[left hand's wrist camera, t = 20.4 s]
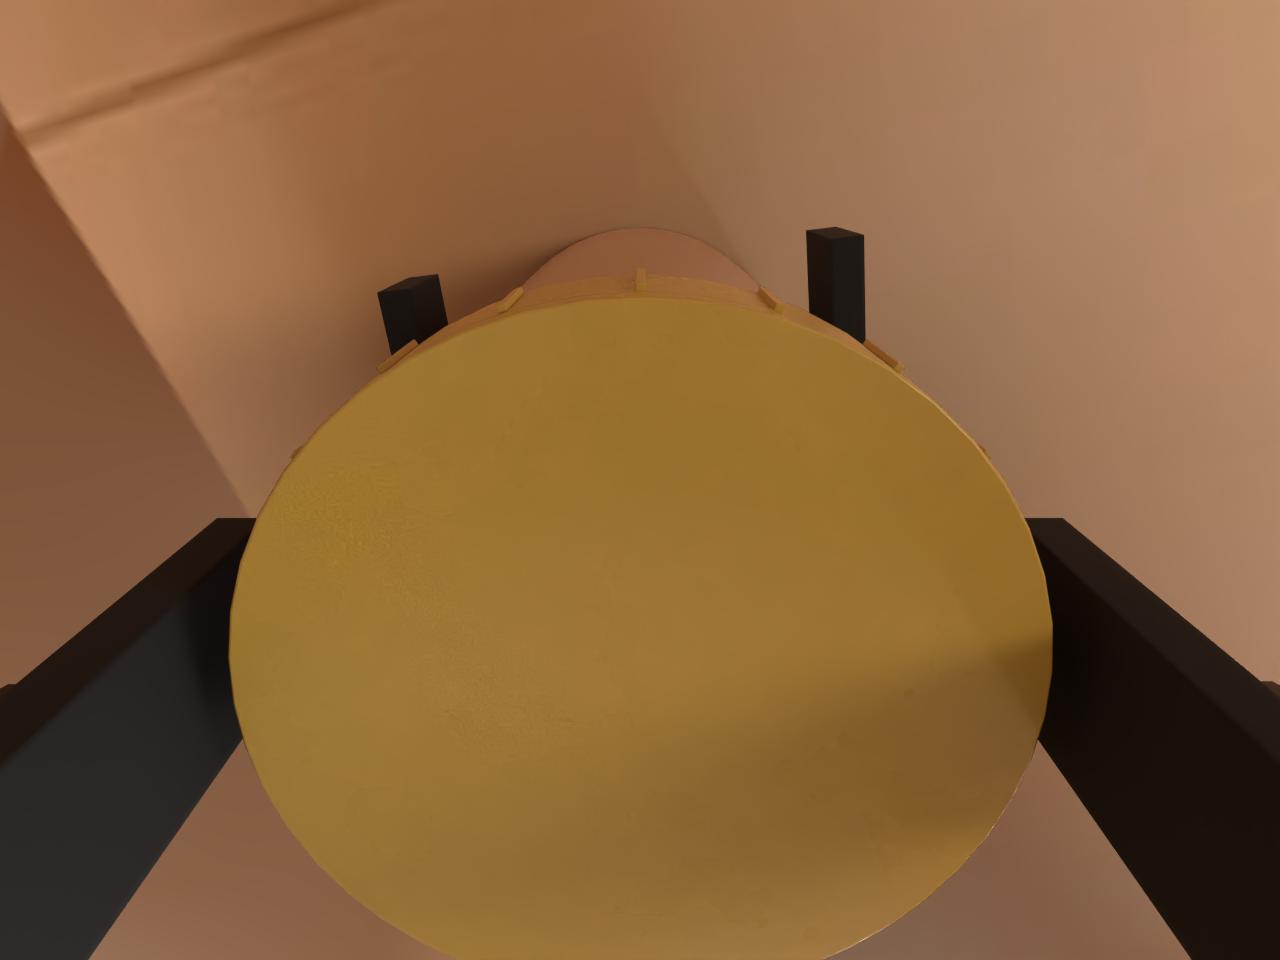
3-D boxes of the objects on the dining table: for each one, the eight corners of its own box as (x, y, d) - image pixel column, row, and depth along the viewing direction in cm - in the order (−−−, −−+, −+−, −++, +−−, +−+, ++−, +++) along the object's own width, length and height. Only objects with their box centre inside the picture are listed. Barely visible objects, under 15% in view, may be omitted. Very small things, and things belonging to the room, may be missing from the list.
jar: (800, 237, 25) (1066, 348, 9) (766, 515, 28) (920, 938, 13) (495, 218, 25) (253, 302, 9) (497, 501, 28) (321, 913, 13)
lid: (890, 922, 14) (928, 1034, 12) (288, 854, 14) (233, 961, 12) (1097, 337, 11) (1194, 372, 9) (283, 211, 10) (203, 221, 8)
